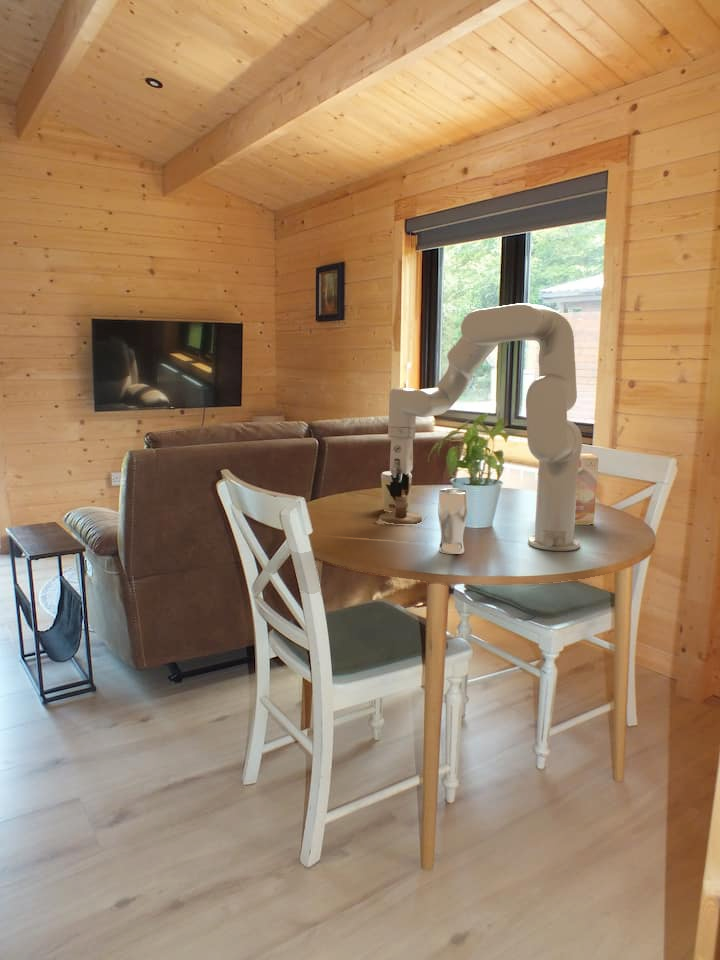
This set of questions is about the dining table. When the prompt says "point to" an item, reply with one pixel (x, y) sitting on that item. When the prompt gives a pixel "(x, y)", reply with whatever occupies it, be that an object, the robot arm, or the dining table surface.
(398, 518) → the lid
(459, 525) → the beer glass
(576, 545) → the robot arm
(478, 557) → the dining table surface
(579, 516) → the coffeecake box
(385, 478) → the coffee cup
